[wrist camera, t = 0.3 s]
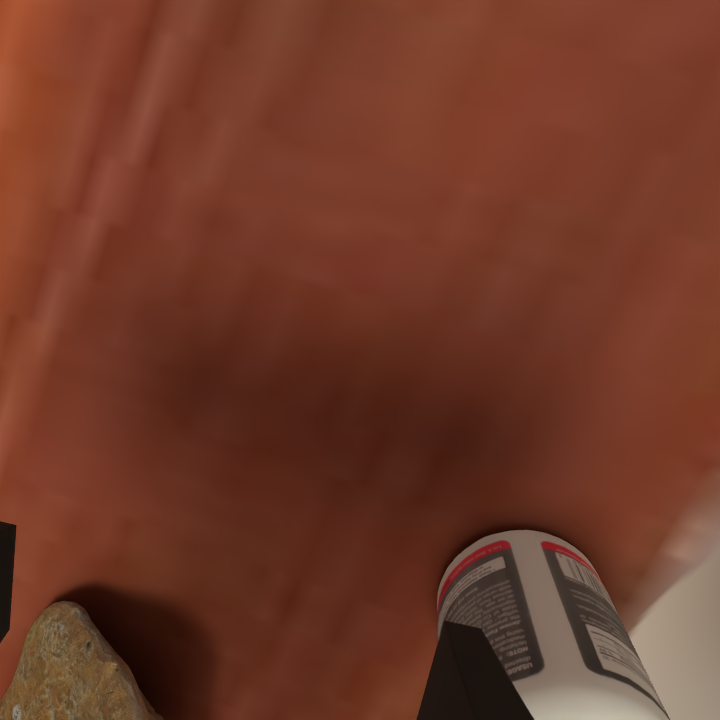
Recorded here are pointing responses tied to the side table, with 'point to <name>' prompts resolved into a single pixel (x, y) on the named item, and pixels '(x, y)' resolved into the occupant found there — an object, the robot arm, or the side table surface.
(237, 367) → the side table surface
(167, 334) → the side table surface
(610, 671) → the pill bottle
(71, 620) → the fossil
